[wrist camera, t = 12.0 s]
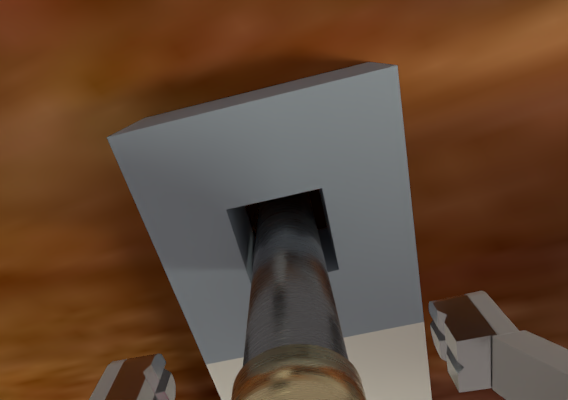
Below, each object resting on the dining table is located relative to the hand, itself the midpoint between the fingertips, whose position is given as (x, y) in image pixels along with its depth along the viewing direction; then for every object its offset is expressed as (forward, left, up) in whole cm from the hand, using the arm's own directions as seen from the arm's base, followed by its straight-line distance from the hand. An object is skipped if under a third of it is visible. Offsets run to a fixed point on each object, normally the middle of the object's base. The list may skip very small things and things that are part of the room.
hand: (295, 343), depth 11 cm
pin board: (0, +7, -11) cm, 13 cm away
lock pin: (0, 0, -11) cm, 11 cm away
